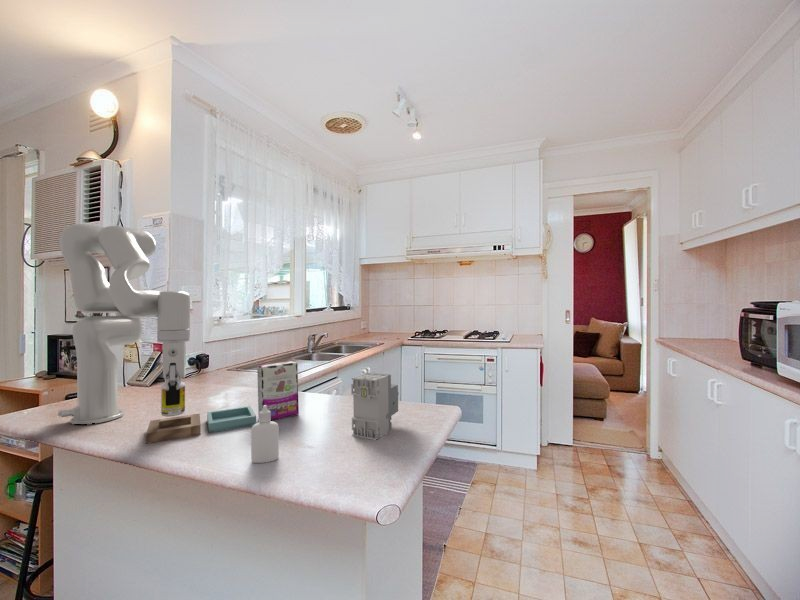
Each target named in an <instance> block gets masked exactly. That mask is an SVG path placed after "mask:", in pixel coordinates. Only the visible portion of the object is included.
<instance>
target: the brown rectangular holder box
mask: <svg viewBox="0 0 800 600" xmlns="http://www.w3.org/2000/svg"><path fill="white" fill-rule="evenodd" d="M147 426H148V427H147V430H146V432H145V444H146V445H148V444H152V443H153V444H155V443H157V442H164V441H170V440H176V438H177V439H181V437H182V438H188V437H193V436H199V435H201V429H202V428H201V414H200V413H194V414H188V415H180V416H179V415H178V416H171V417H165V418H161V419H153V420H150V421H149V424H148V425H147ZM187 436H188V437H187Z"/></svg>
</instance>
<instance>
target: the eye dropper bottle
mask: <svg viewBox="0 0 800 600" xmlns="http://www.w3.org/2000/svg"><path fill="white" fill-rule="evenodd" d="M270 420H271V411H269V410H267V406H266V405H264V406H263V409H262V411H260V412H259V415H258V422H256V424H254V425H252V426H251V431H250V436H251V437H250V439H251V441H250V442H251V444H250V445H251V447H250V449H251V452H250V453H251V455H250V456H251V458H250V459H251V462H252V463H253V464H265V462H266V463H270V461H271V462H274V461H277V460H278V459H279V455H280V452H279V451H280V449H279V448H280V446H279V444H280V443H279V440H280V439H279V423H277V422H276V421H274V420H272V421H270Z"/></svg>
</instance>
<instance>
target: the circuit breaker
mask: <svg viewBox="0 0 800 600" xmlns="http://www.w3.org/2000/svg"><path fill="white" fill-rule="evenodd" d="M351 380H352V383H351V384H350V386H351V387H350V388H351V391H350V392H351V395H352V396H353V401H352V402H353V405H352V407H353V416H352V417H351V430H352V434H351V436H352V437H356V436H360V437H359V438H362V437H365V438H364V439H368V438H371V439H370V440H374V439H378V440H379V439H381V438H382V437H383V436H385V435H386V434H388V433H389V432H390V431H392V429H393V428H392V426H393V425H392V422H391V421H392V416H393V415H395V414H396V413H398V412H399V385H398V384H394V383H393V384H392V374H390V373H389V374H388V373H375V372H364V373H361V374H359V375H356V376H354V377H351ZM389 430H390V431H389ZM388 431H389V432H388ZM387 432H388V433H387ZM385 433H386V434H385ZM384 434H385V435H384ZM380 437H381V438H380Z"/></svg>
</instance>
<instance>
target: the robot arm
mask: <svg viewBox="0 0 800 600" xmlns="http://www.w3.org/2000/svg"><path fill="white" fill-rule="evenodd" d="M59 247H60V252H61V256H62V257H63V259H64V261H65V263H66V267H67V268H68V270H69V275H70V281H71V289H72V294H73V300H74V301H73V302H74V304H75V307H76V308H77V310H78V311H79V312H80V313H81V312H82V313H86V314H104V313H105V314H107V313H108V314H109V313H110V314H112V313H113V314H115V315H101V316H100V315H98V316H97V315H95V316H88V317H84V318H81V319H79V320H78V321H76V322H75V323H74V325H72V332H71V333H72V338H73V341H74V346H75V352H76V374H77V375H76V376H77V377H76V378H77V379H76V380H77V381H76V387H77V388H76V389H77V392H76V393H77V394H76V395H77V396H76V398H77V399H76V400H77V403H76V404H77V405H76V406H74V407H73V408H68V409H67V408H66V409H59V410H58V414H57V415H58V417H59V418H60V417H61V418H65V417H71V418H70V424H71V423H73V424H72V425H74V424H87V425H93V424H92V423H95V424H101V423H105V422H110V421H113V420H116V419H119V418H121V417H123V416H124V414H125V411H124V410H123V409H119V406H118V403H119V402H118V395H119V394H118V359H117V356H116V355H115V354H114V352H113V351H112V350H111V349H110V347H112V346H113V347H114V346H124V345H130V344H134V343H137V342H138V341H140V339H141V338H142V334H143V323H142V318H157V320H156V321H157V324H156V325H157V329H156V330H157V332H156V334H157V337H156V339H157V340H156V341H157V343H161V344H162V371H163V372H162V373H163V379H164V380H165V379H166V380H167V390H166V406H169V405H178V404H180V389H179V377H182V379H184V378H185V377H186V371H187V370H186V369H187V367H186V362H187V359H186V357H187V356H186V355H187V352H186V350H187V349H186V342H189V341H191V340H190V337H191V336H190V329H191V328H190V326H191V323H190V322H191V319H190V318H191V315H190V314H191V313H190V312H191V309H190V308H191V296H190V294H189V293H188V292H186V291H179V290H177V291H176V290H175V291H174V290H154V289H153V290H152V289H151V290H149V289H134V288H133V287H132V285H131V284H130V283H129V281H132V280H134V279H138V278H140V277H141V276H143V275H145V274H147V272H148V271H149V269H150V268H151V267H150V266H151V264H150V261H149V259H148V257H151V256H152V255H153V254H155V251H156V249H157V244H156V240H155V238H154V237H153V235H152V234H151V233H149V232H148V231H146V230H143V229H137V228H131V227H125V226H119V225H109V226H105V227H103V226H97V225H93V224H92V225H90V224H85V223H84V224H81V223H76V224H74V223H73V224H69V225H67V226H65V227H64V228H63V229H62V231H61V234H60V237H59ZM92 254H100V255H105V256H106V257H107V259H108V261H109V262H110V264H111V266H112V267H113V269H114V271H113V273H112V274H111V276H110V279H109V281H108V279H107V274H106V272H107V271H106V269H105V267H104V266H103V265H102V263H101V262H100V260H98V259H97V258H96V257H95V256H94V255H92ZM175 376H177V378H175ZM169 377H170V378H169ZM169 381H170V382H169ZM176 385H177V387H176ZM176 388H177V389H176Z"/></svg>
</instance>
